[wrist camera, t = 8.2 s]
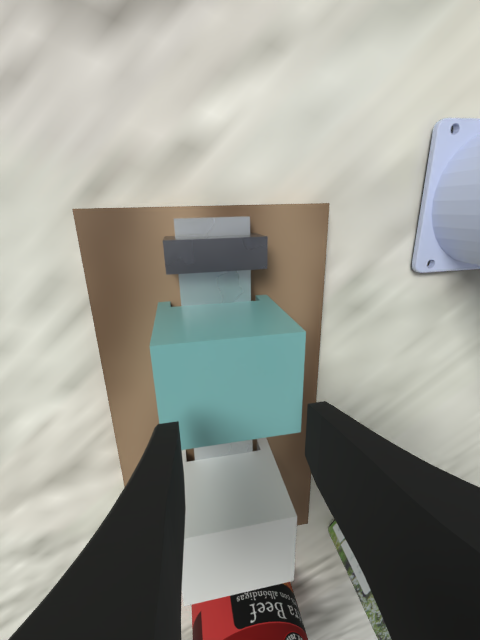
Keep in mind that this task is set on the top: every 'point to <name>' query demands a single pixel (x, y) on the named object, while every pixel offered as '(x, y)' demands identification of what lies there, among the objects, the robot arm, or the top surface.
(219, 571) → the grey module
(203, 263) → the steel rail
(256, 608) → the canned food
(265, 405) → the teal module
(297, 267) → the mounting board
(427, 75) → the top surface
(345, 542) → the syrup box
